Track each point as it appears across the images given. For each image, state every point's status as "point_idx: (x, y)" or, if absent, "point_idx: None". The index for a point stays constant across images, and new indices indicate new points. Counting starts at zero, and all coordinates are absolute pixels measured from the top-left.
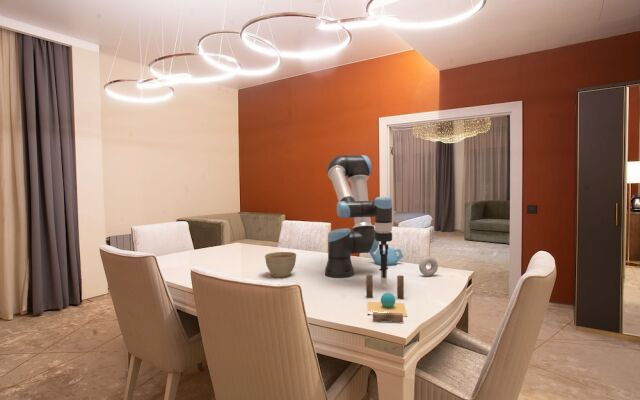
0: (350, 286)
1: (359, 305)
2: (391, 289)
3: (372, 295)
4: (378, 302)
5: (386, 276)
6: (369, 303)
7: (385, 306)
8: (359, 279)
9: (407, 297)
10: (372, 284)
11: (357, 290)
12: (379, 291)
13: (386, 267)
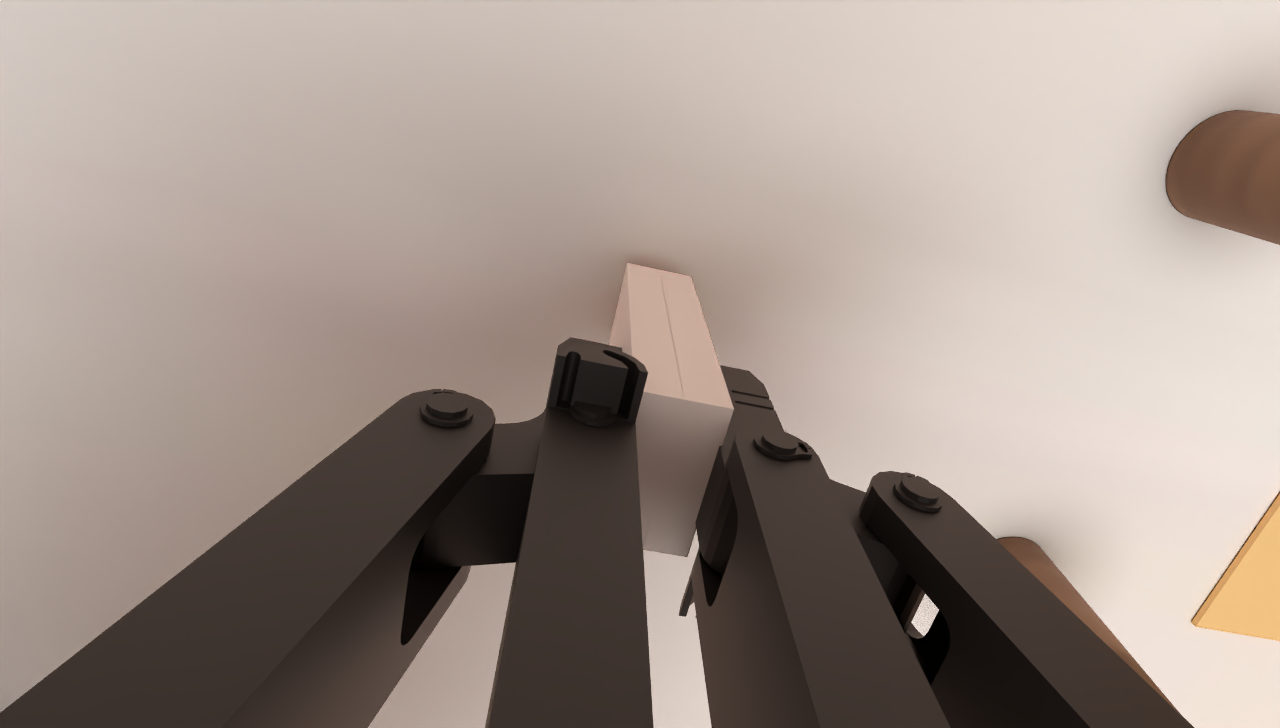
0: (485, 704)
1: (1240, 705)
2: (720, 180)
3: (1048, 559)
4: (1278, 523)
5: (706, 347)
6: (1256, 618)
7: None
8: (75, 555)
9: (1249, 29)
10: (1154, 685)
11: (683, 654)
12: (791, 401)
13: (987, 548)
